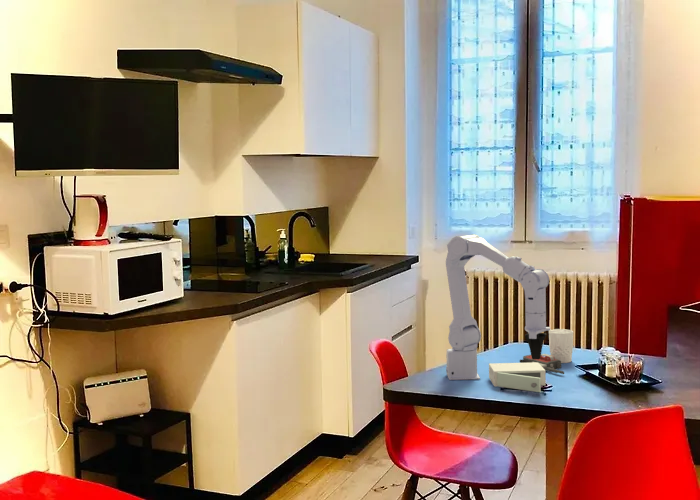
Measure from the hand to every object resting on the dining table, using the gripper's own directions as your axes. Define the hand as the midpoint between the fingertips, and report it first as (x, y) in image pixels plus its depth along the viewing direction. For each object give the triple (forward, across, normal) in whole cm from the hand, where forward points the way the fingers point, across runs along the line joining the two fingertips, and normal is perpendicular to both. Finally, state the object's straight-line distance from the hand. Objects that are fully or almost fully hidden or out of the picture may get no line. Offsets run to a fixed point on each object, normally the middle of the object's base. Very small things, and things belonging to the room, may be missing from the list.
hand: (536, 358), depth 219 cm
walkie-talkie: (+10, +26, 0) cm, 28 cm away
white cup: (+9, +37, -4) cm, 39 cm away
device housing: (+9, +7, +7) cm, 13 cm away
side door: (+9, -2, +5) cm, 10 cm away
